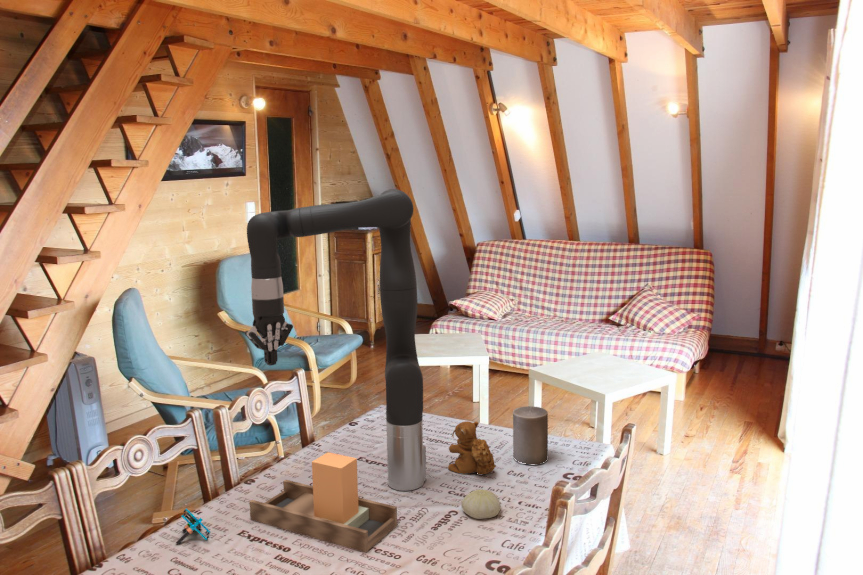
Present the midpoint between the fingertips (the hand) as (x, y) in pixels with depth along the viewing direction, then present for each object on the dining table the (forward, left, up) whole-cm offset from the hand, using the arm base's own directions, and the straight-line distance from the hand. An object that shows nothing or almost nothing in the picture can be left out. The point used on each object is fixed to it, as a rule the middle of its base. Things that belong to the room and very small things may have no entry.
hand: (271, 364), depth 173 cm
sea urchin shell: (-25, +46, -33) cm, 62 cm away
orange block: (+2, +26, -30) cm, 40 cm away
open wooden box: (+3, +22, -33) cm, 40 cm away
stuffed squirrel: (-42, +30, -33) cm, 61 cm away
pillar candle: (-58, +37, -33) cm, 76 cm away
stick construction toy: (+26, +4, -33) cm, 43 cm away
